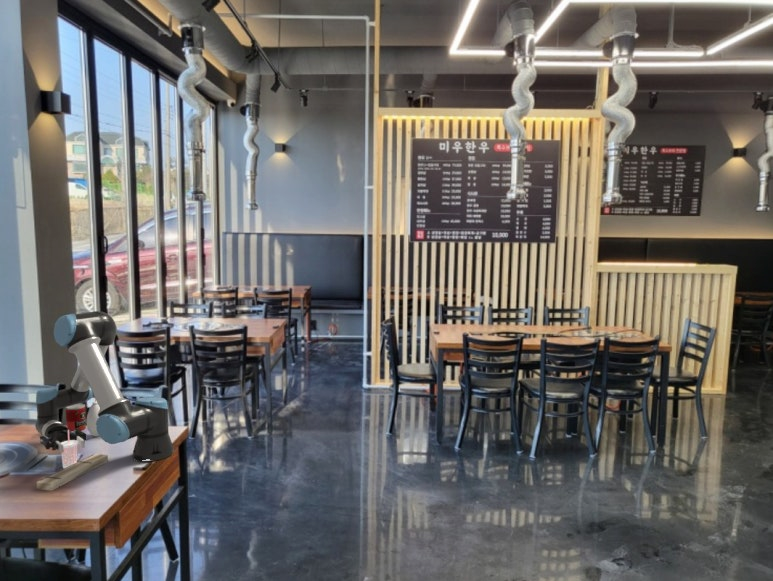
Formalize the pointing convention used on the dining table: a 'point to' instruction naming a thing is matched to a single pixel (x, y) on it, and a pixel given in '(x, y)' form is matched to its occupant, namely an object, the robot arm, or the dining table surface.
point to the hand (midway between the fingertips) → (73, 446)
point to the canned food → (76, 417)
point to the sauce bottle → (93, 418)
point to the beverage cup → (69, 452)
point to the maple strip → (71, 472)
